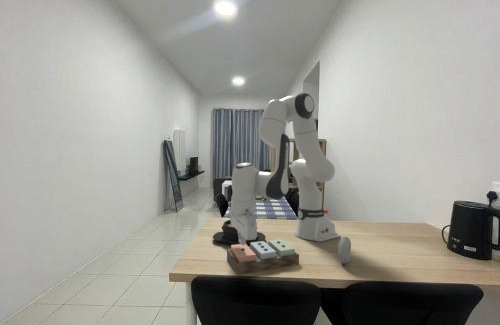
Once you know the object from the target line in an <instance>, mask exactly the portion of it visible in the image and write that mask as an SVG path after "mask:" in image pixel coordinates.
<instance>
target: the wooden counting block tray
mask: <svg viewBox="0 0 500 325" xmlns="http://www.w3.org/2000/svg"><path fill="white" fill-rule="evenodd" d="M248 247H249V248H250V245H249V246H248ZM226 259H227V261H228V262H229V264H230V265H231V266H232V269H233V270H234V272H235V273H236V274H237V275H242V274H243V275H244V274H247V273H255V272H260V271H265V270H271V269H278V268H282V267H287V266H294V265H299V264H300V254H299V253H298V252H296V251H295V254H294V255H288V256H282V257H280V256H279V255H278V254H277V253H276V257H275V258H269V259H263V260H260V259H259V258H258V257H257V256H256V261H250V262H244V263H239V262H238V261H237V260H236V258H235V257H234V255H233V254H232V253H231V248H229V249H226Z"/></svg>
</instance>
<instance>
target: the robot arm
mask: <svg viewBox="0 0 500 325" xmlns="http://www.w3.org/2000/svg"><path fill="white" fill-rule="evenodd" d="M314 110H315V101H314V99H313V97H312V96H311V95H310V94H309V93H306V92H300V93H298V94H292V95H287V96H285V97H283V98H281V99H272V100H270V101H268V103H267V104H266V106H265V108H264V111H263V112H262V115H261V118H260V122H259V124H258V130H257V134H258V136H259V138H260V140H261V141H262V142H263V143H264V144H266V145H268V146H270V147H271V148H274V149H275V151H276V152H275V153H276V154H275V165H274V166H275V167H274V170H273V171H272V172H270V171H263V170H262V171H261V170H259V169H257V168H256V167H255V164H254V163H252V162H240V163H237V164H236V165H234V167H233V170H232V174H231V190H232V194H231V198H230V199H231V200H230V201H229V202H228V207H229V220H230V221H231V224H232V225H233V226H234V227H235V228H236V229H237V230H238V237H239V242H240V244H241V245H245V244H246V240H254V239H256V237H257V232H258V226H257V224H258V223H257V218H256V217H255V216H254V213H255V211H256V196H259V197H264V198H269V199H272V200H275V201H278V200H281V199H283V198H284V197H285V196H286V195H287V194H288V193H289V190H290V179H289V168H290V172H291V174H292V176H294V179H295V180H296V183H297V187H298V196H299V201H298V202H299V203H298V204H299V205H298V208H297V215H298V218H297V219H298V220H297V225H296V226H297V227H296V230H295V236H296V237H298V238H300V239H304V240H308V241H316V242H325V241H328V240H332V239H336V238H340V237H341V234H340V233H339V232H338V231H336V226H335V223H334V222H333V221H332V220H330V218H329V217H327V216H326V215H327V214H329V212H330V211H329V209H326V208H325V209H324V208H322V207H323V206H322V205H323V194H322V191H321V190H320V189H319V187H318V185H317V183H325V182H329V181H331V180H332V179H333V178H334V176H335V174H336V171H335V170H336V169H335V165H334V164H333V162H331V161H330V160H329V159H328V158H327V157H326V156H325V154H324V152H323V150H322V148H321V145H320V141H319V137H318V132H317V131H318V130H317V125H316V122H315V118H314V115H313V113H314ZM288 122H292V131H293V137H294V143H295V148H296V150H297V151H298V152H299V153H300V154H301V155H302V157H303V158H299V159H296V160H294V161H293V162H292V163H291V165H290V153H291V150H290V149H291V148H290V147H291V142H290V138H289V136H288V135H287V134H286V127H287V123H288ZM325 214H326V215H325ZM246 245H247V244H246Z"/></svg>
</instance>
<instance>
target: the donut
mask: <svg viewBox="0 0 500 325" xmlns="http://www.w3.org/2000/svg"><path fill="white" fill-rule="evenodd" d="M337 250H338V252H337V255H338V256H337V257H338V261H339V262H340V263H341V264H343V265H345V264H347V263H348V262H349V260H350V258H351V251H352V242H351V239H350V238H349V237H348V236H342V237H341V238H340V240H339V244H338V249H337Z"/></svg>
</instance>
